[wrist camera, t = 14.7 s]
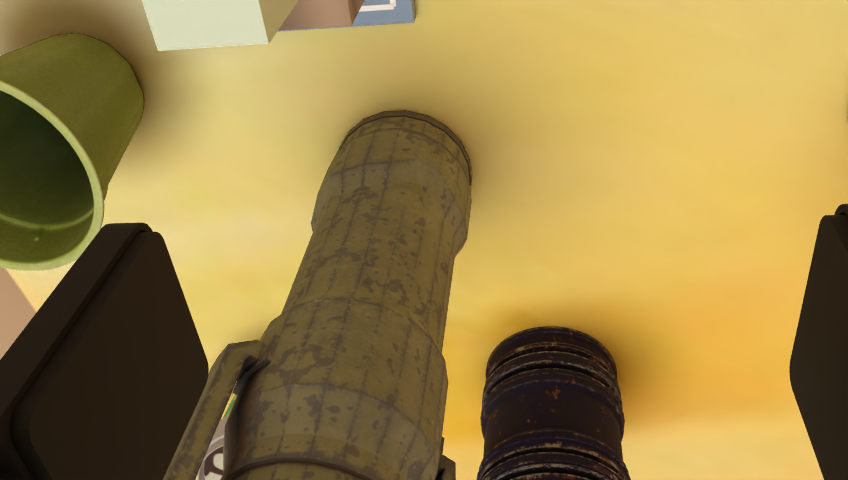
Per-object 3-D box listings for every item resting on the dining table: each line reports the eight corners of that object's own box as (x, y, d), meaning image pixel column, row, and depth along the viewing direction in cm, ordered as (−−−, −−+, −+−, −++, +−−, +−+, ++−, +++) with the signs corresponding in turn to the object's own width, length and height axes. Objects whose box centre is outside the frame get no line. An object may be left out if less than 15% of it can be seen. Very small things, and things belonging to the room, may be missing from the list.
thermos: (350, 69, 47) (75, 677, 19) (519, 164, 50) (498, 827, 21) (291, 177, 52) (2, 787, 24) (447, 259, 54) (353, 899, 26)
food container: (227, 319, 60) (179, 421, 52) (308, 330, 60) (272, 434, 52) (238, 428, 67) (197, 532, 59) (310, 438, 67) (279, 544, 59)
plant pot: (178, 11, 46) (91, 97, 37) (183, 182, 53) (111, 289, 44) (-24, -28, 46) (-159, 48, 37) (8, 148, 53) (-100, 249, 44)
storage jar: (616, 321, 56) (638, 502, 44) (621, 417, 62) (641, 601, 50) (475, 329, 58) (460, 503, 46) (492, 421, 63) (482, 599, 51)
